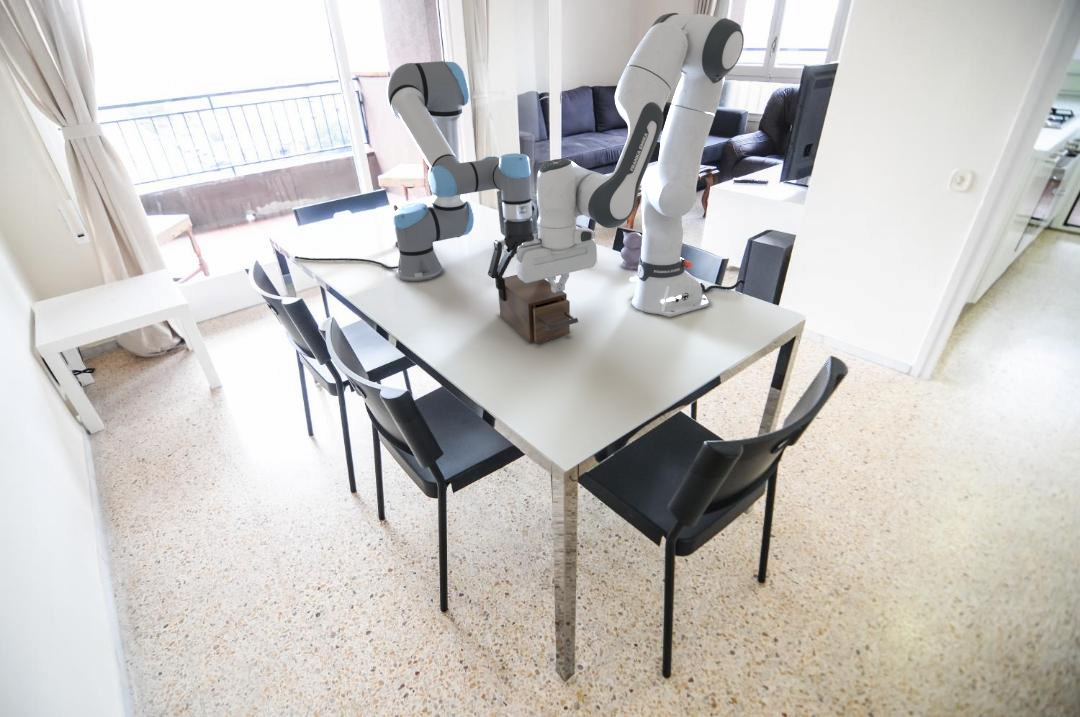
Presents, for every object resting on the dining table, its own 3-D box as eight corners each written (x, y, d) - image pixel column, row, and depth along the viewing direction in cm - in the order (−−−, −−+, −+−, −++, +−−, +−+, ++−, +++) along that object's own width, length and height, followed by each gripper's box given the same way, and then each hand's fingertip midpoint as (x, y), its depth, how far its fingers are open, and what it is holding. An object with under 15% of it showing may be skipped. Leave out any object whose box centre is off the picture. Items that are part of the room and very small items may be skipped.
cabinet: (566, 332, 136) (566, 293, 130) (530, 343, 131) (528, 303, 125) (534, 306, 150) (532, 270, 144) (500, 315, 146) (497, 279, 140)
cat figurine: (648, 265, 175) (651, 232, 169) (635, 272, 170) (638, 238, 164) (628, 260, 180) (630, 227, 174) (615, 266, 175) (616, 233, 169)
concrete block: (555, 250, 192) (555, 197, 181) (537, 255, 188) (535, 201, 177) (517, 234, 210) (514, 185, 200) (499, 238, 206) (496, 189, 196)
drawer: (580, 342, 129) (581, 309, 124) (546, 352, 125) (545, 318, 120) (538, 308, 147) (537, 278, 142) (507, 316, 143) (504, 286, 138)
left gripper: (481, 229, 123) (489, 308, 134) (564, 213, 132) (564, 289, 143) (470, 222, 128) (478, 299, 140) (550, 207, 137) (551, 281, 149)
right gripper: (522, 247, 108) (525, 305, 115) (601, 231, 116) (599, 286, 123) (510, 240, 112) (514, 295, 120) (586, 224, 120) (585, 278, 128)
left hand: (522, 294), depth 141 cm, fingers closed on cabinet, 11 cm apart
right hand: (557, 290), depth 121 cm, fingers closed
